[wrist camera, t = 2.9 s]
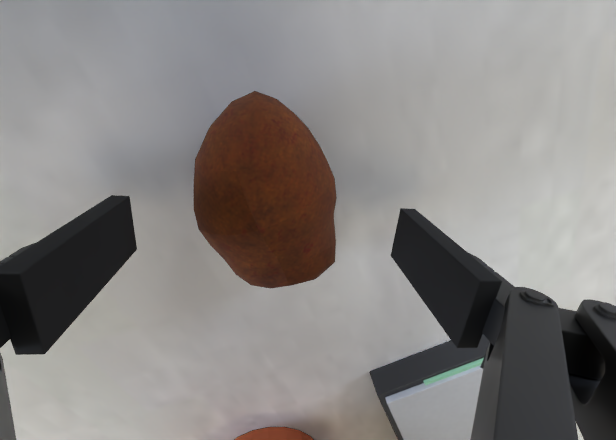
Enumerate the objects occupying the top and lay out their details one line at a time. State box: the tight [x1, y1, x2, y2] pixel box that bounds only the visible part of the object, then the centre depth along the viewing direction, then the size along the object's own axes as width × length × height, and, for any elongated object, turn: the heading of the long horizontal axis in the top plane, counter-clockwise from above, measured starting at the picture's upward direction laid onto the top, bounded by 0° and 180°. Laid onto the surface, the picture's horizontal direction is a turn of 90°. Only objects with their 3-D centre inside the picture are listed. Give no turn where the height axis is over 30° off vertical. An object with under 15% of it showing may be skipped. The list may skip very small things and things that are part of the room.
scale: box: [370, 334, 490, 440], centre depth 29 cm, size 14×14×3 cm
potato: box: [194, 91, 336, 288], centre depth 17 cm, size 8×12×8 cm, turn 17°
